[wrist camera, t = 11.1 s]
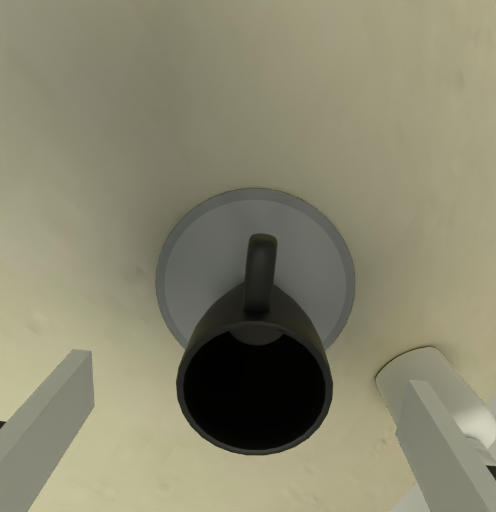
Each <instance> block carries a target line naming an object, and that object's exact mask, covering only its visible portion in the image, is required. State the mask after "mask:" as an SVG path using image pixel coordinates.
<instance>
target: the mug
mask: <svg viewBox="0 0 496 512" xmlns="http://www.w3.org/2000/svg"><path fill="white" fill-rule="evenodd" d="M277 245H278V242H277V239H276V237H274V236H272V235H270V234H264V233H257V234H253V235H251V237H250V238H249V242H248V249H247V257H246V267H245V279H244V283H242V284H240V285H238V286H236V287H235V288H233V289H232V290H230V291H228V292H227V293H226V294H224V295H223V296H222V297H220V298H219V299H218V300H217V301H216V302H214V303H213V304H212V306H211V307H210V308H209V309H208V310H207V312H206V313H205V314H204V315H203V317H202V318H201V319H200V321H199V322H198V324H197V325H196V327H195V329H194V331H193V333H192V335H191V338H190V340H189V342H188V345H187V347H186V350H185V352H184V355H183V357H182V360H181V362H180V365H179V368H178V374H177V380H176V388H177V398H178V402H179V404H180V407H181V410H182V413H183V415H184V416H185V418H186V419H187V421H188V422H189V424H190V426H191V427H192V428H193V429H194V430H195V431H196V432H197V433H198V434H199V435H200V436H201V437H202V438H204V439H206V440H207V441H209V442H210V443H212V444H213V445H215V446H217V447H219V448H222V449H224V450H227V451H229V452H233V453H238V454H243V455H269V454H275V453H280V452H283V451H285V450H288V449H291V448H293V447H295V446H297V445H299V444H300V443H302V442H303V441H305V440H306V439H308V438H309V437H310V436H311V435H312V434H313V433H314V432H315V431H316V430H317V429H318V428H319V427H320V425H321V424H322V422H323V421H324V419H325V417H326V416H327V414H328V411H329V408H330V404H331V401H332V395H333V380H332V376H331V371H330V367H329V364H328V360H327V357H326V354H325V351H324V347H323V345H322V342H321V339H320V337H319V335H318V333H317V331H316V329H315V327H314V325H313V323H312V321H311V320H310V318H309V317H308V315H307V314H306V313H305V311H304V310H303V309H302V308H301V307H300V306H299V304H298V303H297V302H296V301H295V300H294V299H293V298H291V297H290V296H289V295H287V294H286V293H285V292H284V291H283V290H281V289H280V288H278V287H277V286H276V285H273V283H274V274H275V265H276V256H277Z"/></svg>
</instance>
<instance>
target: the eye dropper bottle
mask: <svg viewBox="0 0 496 512" xmlns="http://www.w3.org/2000/svg"><path fill="white" fill-rule="evenodd" d="M408 380H419V381H428V383H429V384H430V386H431V387H432V389H433V390H434V392H435V393H436V394H437V396H438V397H439V399H440V400H441V402H442V403H443V405H444V406H445V407H446V409H447V410H448V412H449V413H450V415H451V416H452V418H453V419H454V421H455V422H456V423H457V425H458V426H459V428H460V429H461V431H462V432H463V434H464V435H465V436H466V438H467V439H468V441H469V442H470V444H471V445H472V447H473V448H474V450H475V451H476V452H477V454H478V455H479V457H480V458H481V460H482V461H483V463H484V464H485V465H490V466H496V461H495V460H494V458H493V457H492V456H491V454H490V453H489V452H488V451H487V449H488V448H489V447H490V446H491V444H492V443H493V442H494V440H495V439H496V419H495V417H494V416H493V414H492V413H491V411H490V410H489V408H488V407H487V405H486V404H485V403H484V402H483V401H482V399H481V398H480V397H479V396H478V395H477V393H476V392H475V391H474V390H473V389H472V388H471V387H470V385H469V384H468V383H467V382H466V381H465V380H464V379H463V377H462V376H461V375H460V374H459V373H458V372H457V371H456V369H455V368H454V367H453V366H452V365H451V364H450V363H449V361H448V360H447V359H446V358H445V357H444V356H443V355H442V354H441V352H440V351H439V350H437V349H436V348H433V347H425V348H419V349H415V350H412V351H409V352H407V353H404V354H402V355H400V356H398V357H397V358H395V359H393V360H392V361H391V362H389V363H388V364H387V365H386V366H385V367H384V368H383V369H382V370H381V371H380V372H379V373H378V375H377V377H376V380H375V382H376V385H377V387H378V389H379V392H380V394H381V396H382V398H383V400H384V402H385V404H386V406H387V408H388V410H389V412H390V414H391V416H392V418H393V420H394V422H395V424H396V426H397V425H398V421H399V417H400V413H401V409H402V405H403V401H404V397H405V393H406V388H407V384H408Z"/></svg>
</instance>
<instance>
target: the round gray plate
mask: <svg viewBox="0 0 496 512" xmlns="http://www.w3.org/2000/svg"><path fill="white" fill-rule="evenodd" d="M257 233H264V234H270V235H272V236H274V237H276V239H277V242H278V245H277V256H276V265H275V274H274V283H273V285H276V286H277V287H278V288H280V289H281V290H283V291H284V292H285V293H286V294H287V295H289V296H290V297H291V298H293V299H294V300H295V301H296V302H297V303H298V304H299V306H300V307H301V308H302V309H303V310H304V311H305V313H306V314H307V315H308V317H309V318H310V320H311V321H312V323H313V325H314V327H315V329H316V331H317V333H318V335H319V337H320V339H321V342H322V345H323V347H324V351H325V350H326V349H327V348H328V347H329V346H330V345H331V344H332V343H333V342H334V341H335V340H336V338H337V337H338V336H339V334H340V333H341V331H342V329H343V328H344V326H345V324H346V322H347V320H348V317H349V315H350V312H351V309H352V305H353V301H354V294H355V273H354V268H353V262H352V259H351V256H350V253H349V250H348V248H347V246H346V244H345V242H344V240H343V238H342V237H341V235H340V234H339V232H338V231H337V229H336V228H335V227H334V226H333V224H332V223H331V222H330V221H329V220H328V219H327V218H326V217H325V216H324V215H323V214H322V213H321V212H319V211H318V210H317V209H316V208H314V207H313V206H311V205H310V204H308V203H307V202H305V201H303V200H301V199H299V198H297V197H295V196H292V195H290V194H287V193H283V192H280V191H276V190H269V189H256V188H249V189H240V190H234V191H230V192H226V193H223V194H220V195H218V196H215V197H213V198H210V199H209V200H207V201H205V202H203V203H201V204H200V205H198V206H197V207H196V208H194V209H193V210H192V211H190V212H189V213H188V214H187V215H186V216H185V217H184V218H183V219H182V220H181V221H180V222H179V223H178V224H177V225H176V227H175V228H174V229H173V231H172V232H171V233H170V235H169V237H168V238H167V240H166V242H165V244H164V246H163V249H162V251H161V254H160V257H159V261H158V265H157V270H156V294H157V299H158V304H159V308H160V311H161V314H162V316H163V319H164V321H165V323H166V325H167V327H168V328H169V330H170V331H171V333H172V334H173V336H174V337H175V338H176V340H177V341H178V342H179V343H180V344H181V345H182V346H183V347H184V348H185V349H186V347H187V345H188V342H189V340H190V338H191V335H192V333H193V331H194V329H195V327H196V325H197V324H198V322H199V321H200V319H201V318H202V317H203V315H204V314H205V313H206V312H207V310H208V309H209V308H210V307H211V306H212V304H213V303H214V302H216V301H217V300H218V299H219V298H220V297H222V296H223V295H224V294H226V293H227V292H228V291H230V290H232V289H233V288H235V287H236V286H238V285H240V284H242V283H244V279H245V267H246V257H247V249H248V242H249V238H250V237H251V235H253V234H257Z"/></svg>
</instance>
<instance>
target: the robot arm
mask: <svg viewBox="0 0 496 512" xmlns="http://www.w3.org/2000/svg"><path fill="white" fill-rule="evenodd" d="M93 408H94V391H93V372H92V354H91V351H86V350H75V349H73V350H72V351H71V352H70V353H69V354H68V355H67V356H66V358H65V359H64V360H63V361H62V362H61V363H60V364H59V365H58V366H57V367H56V369H55V370H54V371H53V372H52V373H51V374H50V375H49V376H48V377H47V378H46V380H45V381H44V382H43V383H42V384H41V385H40V386H39V387H38V388H37V389H36V390H35V392H34V393H33V394H32V395H31V396H30V397H29V398H28V399H27V400H26V401H25V403H24V404H23V405H22V406H21V407H20V408H19V409H18V410H17V411H16V412H15V413H14V415H13V416H12V417H11V418H10V419H9V420H8V421H7V422H4V421H0V512H28V510H29V508H30V507H31V505H32V504H33V502H34V500H35V499H36V497H37V496H38V494H39V493H40V491H41V489H42V488H43V486H44V485H45V483H46V482H47V480H48V478H49V477H50V475H51V474H52V472H53V471H54V469H55V467H56V466H57V464H58V463H59V461H60V460H61V458H62V456H63V455H64V453H65V452H66V450H67V449H68V447H69V445H70V444H71V442H72V441H73V439H74V437H75V436H76V434H77V433H78V431H79V430H80V428H81V426H82V425H83V423H84V422H85V420H86V419H87V417H88V415H89V414H90V412H91V411H92V409H93ZM395 434H396V436H397V438H398V441H399V443H400V445H401V447H402V449H403V452H404V454H405V456H406V458H407V460H408V463H409V465H410V467H411V469H412V471H413V474H414V476H415V478H416V480H417V482H418V484H419V487H420V489H421V491H422V493H423V496H424V498H425V500H426V502H427V504H428V507H429V509H430V511H431V512H496V466H490V465H485V464H484V463H483V461H482V460H481V458H480V457H479V455H478V454H477V452H476V451H475V450H474V448H473V447H472V445H471V444H470V442H469V441H468V439H467V438H466V436H465V435H464V434H463V432H462V431H461V429H460V428H459V426H458V425H457V423H456V422H455V421H454V419H453V418H452V416H451V415H450V413H449V412H448V410H447V409H446V407H445V406H444V405H443V403H442V402H441V400H440V399H439V397H438V396H437V394H436V393H435V392H434V390H433V389H432V387H431V386H430V384H429V383H428V381H419V380H408V384H407V388H406V393H405V397H404V401H403V405H402V409H401V413H400V417H399V421H398V425H397V429H396V433H395Z"/></svg>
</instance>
